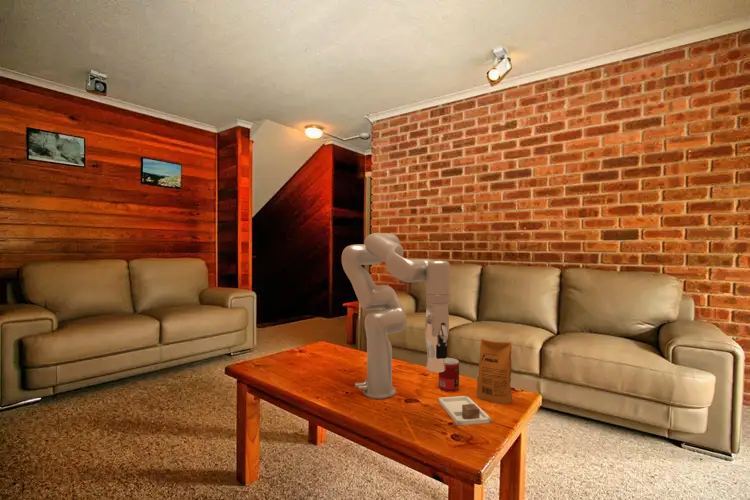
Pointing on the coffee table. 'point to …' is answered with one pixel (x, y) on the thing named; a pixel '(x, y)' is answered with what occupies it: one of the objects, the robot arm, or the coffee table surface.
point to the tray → (455, 410)
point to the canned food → (449, 375)
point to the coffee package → (495, 372)
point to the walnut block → (470, 411)
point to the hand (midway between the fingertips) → (437, 354)
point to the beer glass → (433, 351)
